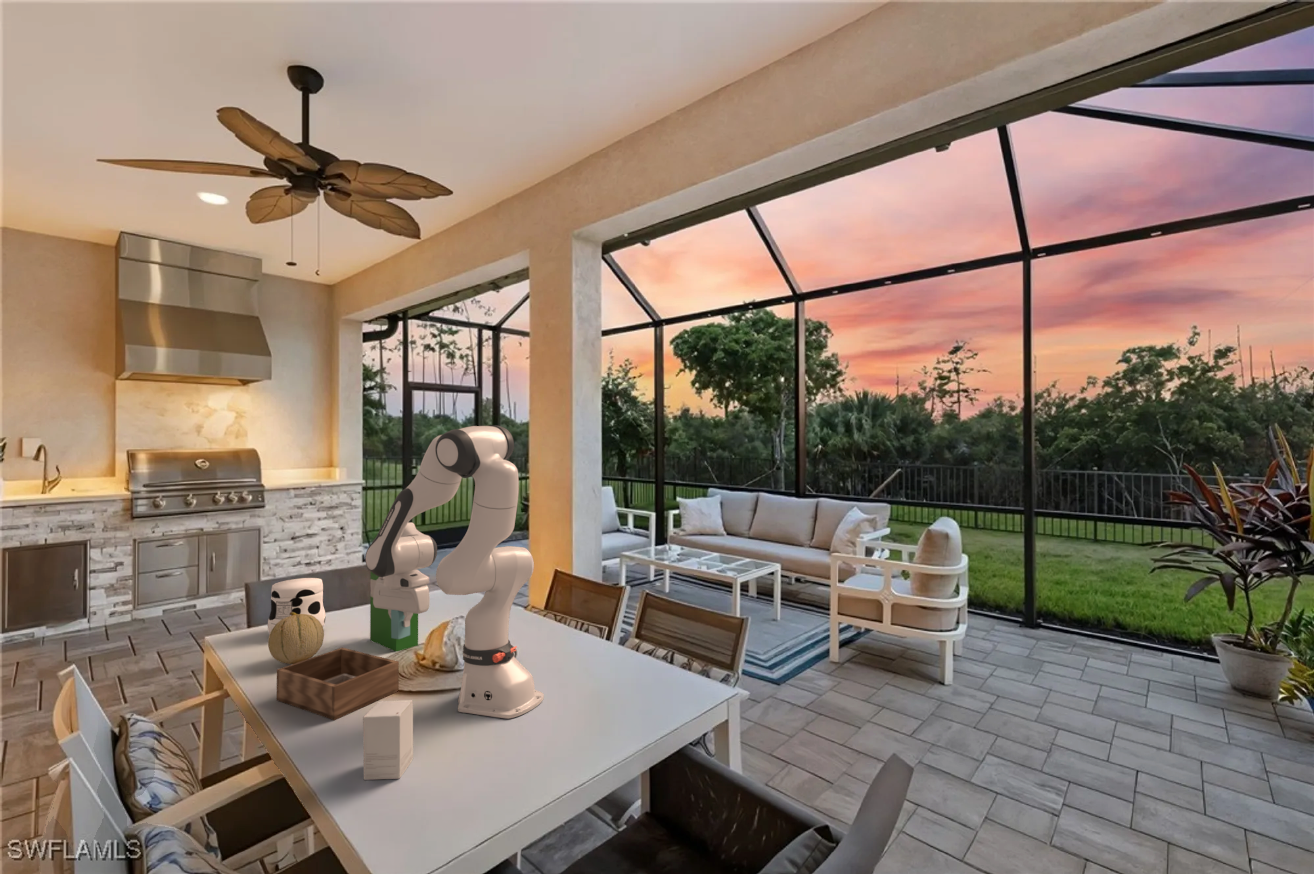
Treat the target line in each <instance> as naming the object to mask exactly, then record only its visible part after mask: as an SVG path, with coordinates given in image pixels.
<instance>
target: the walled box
mask: <svg viewBox="0 0 1314 874" xmlns="http://www.w3.org/2000/svg"><path fill="white" fill-rule="evenodd" d="M399 665H400V662H399V661H397V660H394V659H390V658H386V657H382V656H378V655H374V654H371V653H366V652H362V651H358V650H355V649H350V648H346V647H340V648H337V649H333V650H331V651H328V652H325V653H322V654H319V655H314V656H312V657H311V658H309V659H307V660H304V661H301V662H298V663H295V664H288V665H286V666H283V667H280V668H278V669H277V668H276V701H278V702H280V703H284V704H286V705H289V706H292V707H295V708H298V709H301V710H302V711H303V710H304V711H307V712H309V713H312V714H315V715H318V716H321V717H324V718H326V719H330V720H333V721H336V720H339V719H340V718H343V717H345V716H347V715H349V714H350V715H351V714H352V713H354V712H356V711H358V710H361V709H362V708H365V707H367V706H370V705H371V704H374V703H377V702H379V701H382V700H383V699H385V698H386V697H387V698H388V697H389V696H391V695H393V694H396V693H398V692H399V691H398V690H399V688H400V687H399V686H400V685H399V676H400V670H399V667H400V666H399ZM397 691H398V692H397Z"/></svg>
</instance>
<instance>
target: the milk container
mask: <svg viewBox="0 0 1314 874" xmlns="http://www.w3.org/2000/svg"><path fill="white" fill-rule="evenodd" d="M323 591H324V584H323V579H322V578H317V577H301V578H295V579H294V578H292V579H287V580H283V581H279V582H275V583H274V584H272V585H271V592H270V593H271V594H270V595H271V596H270V597H271V598H270V613H269V616H268V619H267V630H268V633H269V634H270V632H271V631H272V629H273V628H274V626H275V625H276V624H277V623H278V622H279V621H281V620H282V619H284V618H286V617H289V616H292V615H289V614H290V612H294V613H296V614H308V615H312V616H314V617H315V618H316V619H317V620H319V621H320V623H321V625H322V626H323V627H324V626H325V625H326V614H327V613H326V610H325V608H324V603H323V601H324V600H323V599H324V592H323Z"/></svg>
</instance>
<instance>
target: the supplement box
mask: <svg viewBox="0 0 1314 874" xmlns="http://www.w3.org/2000/svg"><path fill="white" fill-rule="evenodd" d="M413 701H414V700H413V699H409V700H406V699H405V700H378V701H377V702H376V704H375V705H374V706H373V707H371V709H369V711H368V712H367V713H366V714H365V715H364V716H363V717H362V724H363V725H362V726H363V727H362V729H363V732H362V733H363V739H362V740H363V741H362V742H363V743H362V744H363V758H362V759H363V780H364V781H368V780H372V781H373V780H392V779H393V780H394V779H395V780H396V779H397V780H398V779H401V777H402V776H403V775H404V773H405V772H406V770H407V769H408V768H409V766H410V765H411V763H412V762H413V760H414V702H413Z"/></svg>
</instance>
